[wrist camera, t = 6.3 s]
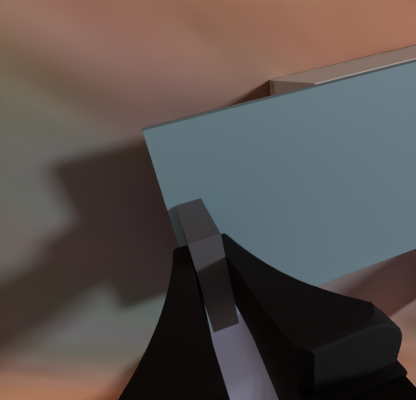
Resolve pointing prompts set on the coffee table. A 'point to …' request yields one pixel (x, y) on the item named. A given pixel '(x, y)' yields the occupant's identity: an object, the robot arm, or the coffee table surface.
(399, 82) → the carton lid
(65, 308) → the coffee table surface
